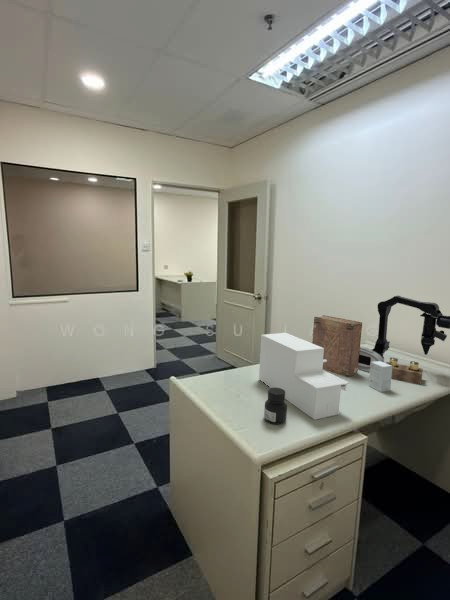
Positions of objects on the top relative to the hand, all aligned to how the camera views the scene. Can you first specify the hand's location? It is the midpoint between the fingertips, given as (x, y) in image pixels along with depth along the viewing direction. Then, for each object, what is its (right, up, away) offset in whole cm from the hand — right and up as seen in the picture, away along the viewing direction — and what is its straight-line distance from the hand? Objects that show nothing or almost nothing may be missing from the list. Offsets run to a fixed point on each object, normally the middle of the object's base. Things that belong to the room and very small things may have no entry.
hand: (425, 352), depth 180 cm
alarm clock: (-31, -12, +12) cm, 36 cm away
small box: (-35, -16, -17) cm, 42 cm away
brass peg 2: (-10, -10, -5) cm, 15 cm away
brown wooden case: (-49, -11, +9) cm, 51 cm away
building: (-78, -16, -27) cm, 84 cm away
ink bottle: (-93, -19, -51) cm, 108 cm away
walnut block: (-14, -14, -2) cm, 20 cm away
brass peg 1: (-18, -9, 0) cm, 21 cm away
